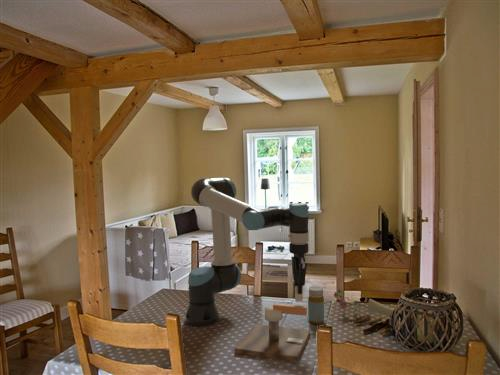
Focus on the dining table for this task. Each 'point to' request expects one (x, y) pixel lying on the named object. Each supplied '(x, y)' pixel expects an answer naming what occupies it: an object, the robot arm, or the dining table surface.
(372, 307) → the flower vase
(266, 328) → the post base
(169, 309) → the dining table surface
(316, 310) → the bottle
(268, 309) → the lever switch
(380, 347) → the dining table surface
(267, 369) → the dining table surface
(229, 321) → the dining table surface
